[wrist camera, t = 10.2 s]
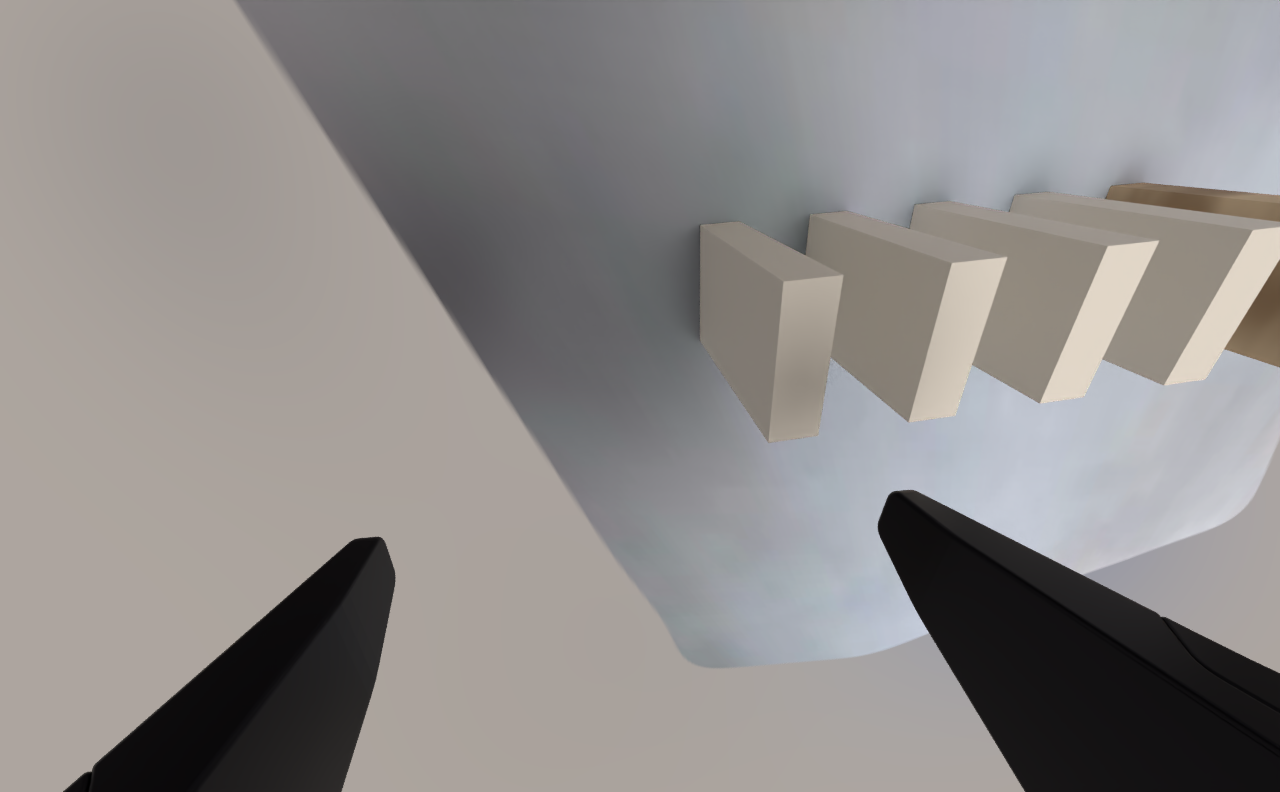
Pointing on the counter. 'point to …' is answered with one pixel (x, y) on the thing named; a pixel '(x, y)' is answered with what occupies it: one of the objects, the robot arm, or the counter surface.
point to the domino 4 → (1175, 279)
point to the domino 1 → (768, 325)
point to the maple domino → (1276, 316)
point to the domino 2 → (906, 309)
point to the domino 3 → (1045, 294)
